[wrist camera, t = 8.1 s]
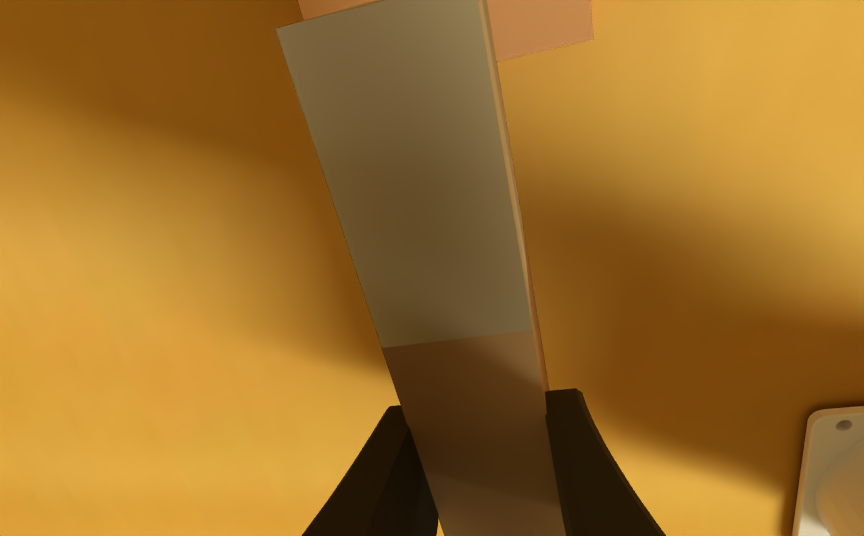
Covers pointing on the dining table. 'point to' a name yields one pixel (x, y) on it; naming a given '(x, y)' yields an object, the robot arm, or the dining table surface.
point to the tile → (510, 23)
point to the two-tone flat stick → (437, 245)
